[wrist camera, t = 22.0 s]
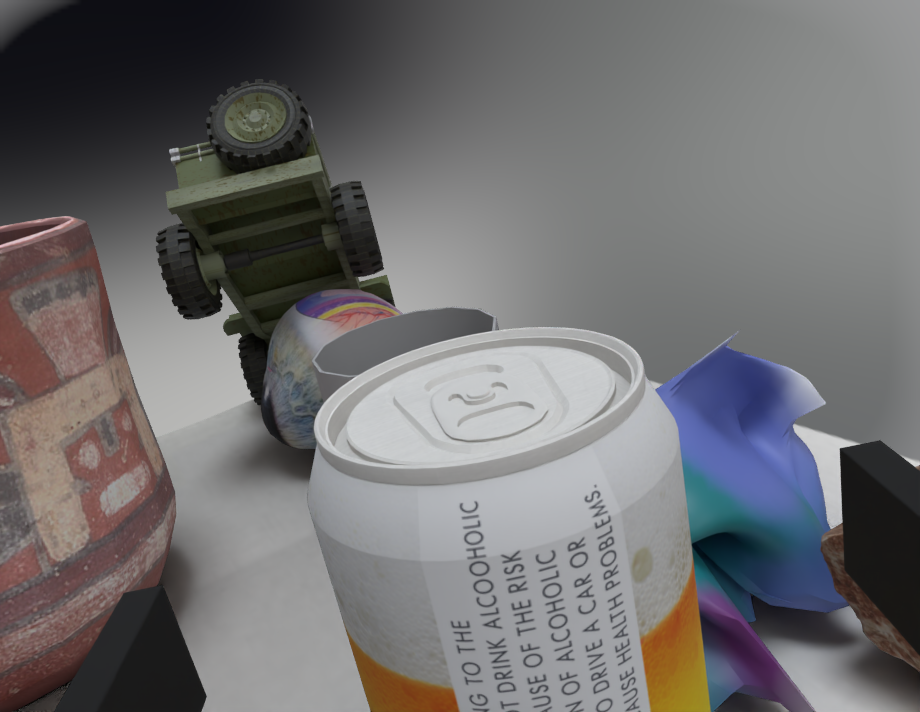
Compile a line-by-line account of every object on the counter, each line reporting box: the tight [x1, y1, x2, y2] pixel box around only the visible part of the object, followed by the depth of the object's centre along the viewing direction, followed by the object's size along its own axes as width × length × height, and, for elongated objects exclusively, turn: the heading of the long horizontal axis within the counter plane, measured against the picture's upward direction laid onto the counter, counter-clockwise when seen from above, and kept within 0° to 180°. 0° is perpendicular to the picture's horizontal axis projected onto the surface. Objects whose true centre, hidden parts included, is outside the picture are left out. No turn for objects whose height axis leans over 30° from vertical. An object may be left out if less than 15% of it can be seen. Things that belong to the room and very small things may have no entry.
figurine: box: [655, 331, 849, 712], centre depth 28 cm, size 13×12×9 cm
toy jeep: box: [156, 79, 395, 405], centre depth 52 cm, size 12×25×11 cm
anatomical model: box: [261, 289, 403, 449], centre depth 48 cm, size 10×12×10 cm
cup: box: [312, 307, 499, 403], centre depth 36 cm, size 8×8×10 cm
